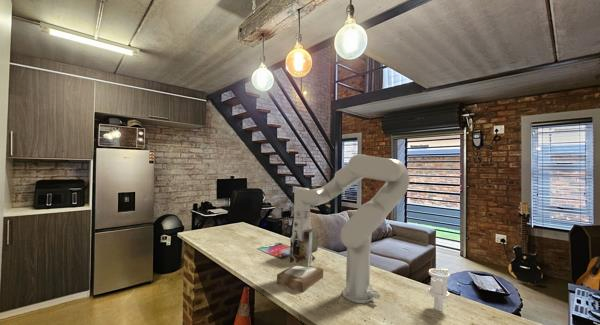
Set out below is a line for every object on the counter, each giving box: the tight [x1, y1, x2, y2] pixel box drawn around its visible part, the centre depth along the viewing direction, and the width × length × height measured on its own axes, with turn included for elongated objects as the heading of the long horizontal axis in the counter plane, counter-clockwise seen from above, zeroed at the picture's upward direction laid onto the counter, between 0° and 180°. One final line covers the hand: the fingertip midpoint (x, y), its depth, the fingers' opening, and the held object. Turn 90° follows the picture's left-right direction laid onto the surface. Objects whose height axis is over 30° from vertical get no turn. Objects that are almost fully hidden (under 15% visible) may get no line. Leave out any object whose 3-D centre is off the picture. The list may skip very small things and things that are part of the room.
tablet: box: [256, 242, 290, 260], centre depth 161 cm, size 19×25×1 cm
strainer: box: [428, 268, 451, 312], centre depth 98 cm, size 7×7×15 cm
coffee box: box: [289, 228, 313, 267], centre depth 120 cm, size 9×6×16 cm
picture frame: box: [276, 264, 324, 293], centre depth 120 cm, size 14×18×5 cm
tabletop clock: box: [289, 226, 319, 260], centre depth 148 cm, size 14×9×25 cm, turn 50°
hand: (301, 251), depth 120 cm, fingers closed on coffee box, 7 cm apart
